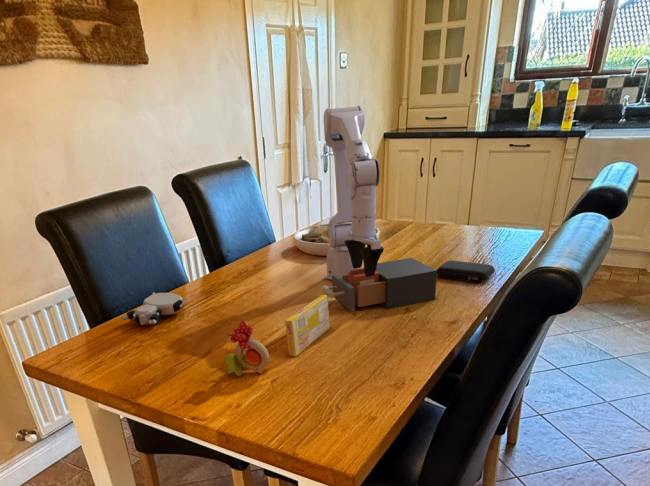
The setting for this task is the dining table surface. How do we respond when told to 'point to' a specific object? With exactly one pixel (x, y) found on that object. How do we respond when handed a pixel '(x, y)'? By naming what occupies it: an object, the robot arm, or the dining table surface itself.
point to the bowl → (316, 239)
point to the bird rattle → (254, 355)
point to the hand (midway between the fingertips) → (363, 271)
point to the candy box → (307, 325)
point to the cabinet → (407, 282)
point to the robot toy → (156, 308)
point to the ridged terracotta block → (361, 279)
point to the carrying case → (465, 271)
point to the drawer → (365, 293)
